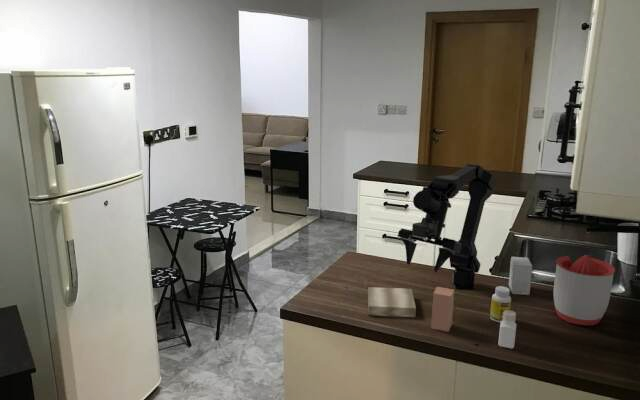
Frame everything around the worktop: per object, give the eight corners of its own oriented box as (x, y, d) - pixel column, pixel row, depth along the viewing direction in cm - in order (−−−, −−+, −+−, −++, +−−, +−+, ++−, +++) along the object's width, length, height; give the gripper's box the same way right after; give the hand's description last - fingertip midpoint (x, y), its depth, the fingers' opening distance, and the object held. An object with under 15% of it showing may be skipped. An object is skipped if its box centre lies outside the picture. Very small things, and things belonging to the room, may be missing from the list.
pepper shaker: (499, 339, 143) (502, 308, 140) (514, 342, 141) (517, 310, 139) (497, 346, 139) (501, 314, 137) (513, 349, 138) (517, 317, 135)
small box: (529, 295, 171) (533, 265, 168) (511, 294, 172) (514, 264, 169) (525, 286, 178) (528, 257, 176) (508, 284, 179) (511, 256, 177)
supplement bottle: (499, 324, 151) (502, 294, 149) (485, 317, 156) (488, 287, 153) (512, 321, 153) (516, 290, 151) (499, 313, 158) (502, 283, 156)
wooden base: (410, 297, 169) (411, 288, 168) (415, 317, 155) (415, 308, 155) (368, 295, 170) (368, 287, 169) (368, 315, 156) (368, 306, 156)
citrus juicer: (594, 305, 164) (603, 246, 159) (615, 332, 147) (625, 266, 142) (542, 301, 166) (549, 242, 161) (556, 327, 150) (565, 262, 145)
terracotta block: (434, 320, 153) (437, 286, 150) (451, 324, 151) (454, 289, 148) (431, 328, 149) (433, 293, 146) (448, 332, 147) (451, 296, 144)
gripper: (396, 206, 155) (381, 256, 153) (453, 216, 143) (438, 271, 142) (412, 215, 164) (399, 262, 162) (468, 226, 152) (454, 277, 150)
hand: (421, 268), depth 154 cm, fingers open, 9 cm apart
